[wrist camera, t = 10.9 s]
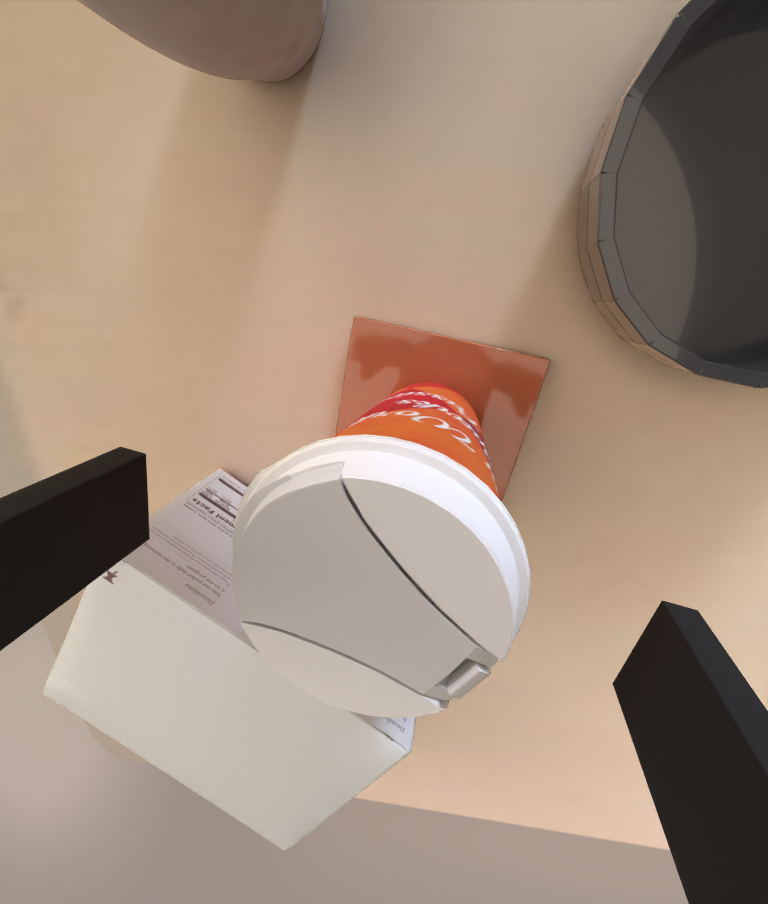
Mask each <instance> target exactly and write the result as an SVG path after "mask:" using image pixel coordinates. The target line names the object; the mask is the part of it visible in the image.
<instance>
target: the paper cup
mask: <svg viewBox="0 0 768 904" xmlns="http://www.w3.org/2000/svg"><path fill="white" fill-rule="evenodd" d="M234 526H235V529H234V533H233V562H232V586H233V592H234V598H235V602H236V607H237V611H238V615H239V619H240V621H241V625H242V627H243V629H244V631H245V632H246V634H247V636H248V637H249V639H250V640H251V642H252V644H253V645H254V646H255V648H256V649H257V650H258V651H259V653H260V654H261V655H262V656H263V657H264V659H265V660H266V661H267V662H268V663H269V664H270V665H271V666H272V667H273V668H274V669H275V670H276V671H278V672H279V673H280V674H281V675H282V676H283V677H285V678H286V679H287V680H289V681H290V682H291V683H293V684H294V685H295V686H297V687H298V688H300V689H302V690H303V691H305V692H307V693H308V694H310V695H312V696H313V697H316V698H318V699H320V700H322V701H324V702H326V703H328V704H330V705H333V706H336V707H339V708H342V709H345V710H348V711H351V712H355V713H360V714H364V715H369V716H377V717H386V718H410V717H417V716H425V715H430V714H433V713H437V712H441V711H444V709H446V708H447V706H448V703H449V700H450V699H451V698H453V697H454V698H458V699H459V698H462V697H463V696H464V695H465V694H466V693H468V692H469V691H470V690H471V689H472V688H474V687H475V686H476V685H477V684H479V683H480V682H481V681H482V680H483V679H485V678H486V677H487V676H488V675H490V674H491V672H490V670H489V669H490V668H492V667H493V666H494V665H495V664H496V662H497V661H498V659H499V660H501V661H502V662H503V660H505V659H506V656H507V654H508V651H509V649H510V647H511V644H512V642H513V639H514V638H515V636H516V635H517V633H518V632H519V630H520V627H521V625H522V622H523V620H524V618H525V615H526V613H527V608H528V603H529V598H530V593H531V584H530V567H529V561H528V556H527V551H526V547H525V545H524V542H523V540H522V537H521V535H520V532H519V530H518V527H517V525H516V523H515V522H514V520H513V519H512V517H511V515H510V514H509V512H508V511H507V509H506V507H505V506H504V504H503V503H502V502H501V501H500V500H499V496H498V492H497V488H496V484H495V480H494V476H493V472H492V468H491V464H490V460H489V456H488V452H487V449H486V445H485V441H484V437H483V434H482V430H481V427H480V424H479V421H478V418H477V416H476V414H475V412H474V410H473V408H472V406H471V405H470V404H469V402H468V401H467V400H466V399H465V398H464V397H463V396H462V395H461V394H459V393H458V392H457V391H455V390H453V389H452V388H450V387H447V386H445V385H441V384H437V383H429V382H425V383H416V384H412V385H409V386H406V387H404V388H402V389H400V390H398V391H396V392H395V393H393V394H392V395H390V396H389V397H387V398H386V399H384V400H383V401H381V402H380V403H379V404H377V405H376V406H374V407H373V408H372V409H370V410H369V411H367V412H366V413H365V414H363V415H362V416H361V417H359V418H358V419H356V420H355V421H354V422H352V423H351V424H350V425H348V426H347V427H346V428H344V429H343V430H342V431H340V432H339V433H337V434H336V435H335V436H333V437H332V438H329V439H324V440H320V441H317V442H314V443H312V444H309V445H307V446H304V447H302V448H299V449H297V450H295V451H294V452H292V453H291V454H289V455H287V456H286V457H284V458H283V459H281V460H279V461H278V462H276V463H274V464H272V465H270V466H269V467H267V468H265V469H263V470H261V471H260V472H258V473H257V475H256V476H255V478H254V479H253V480H252V482H251V483H250V485H249V486H248V487H247V489H246V491H245V493H244V495H243V498H242V500H241V502H240V504H239V507H238V511H237V515H236V519H235V523H234Z"/></svg>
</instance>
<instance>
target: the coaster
mask: <svg viewBox="0 0 768 904" xmlns="http://www.w3.org/2000/svg"><path fill="white" fill-rule="evenodd" d="M549 364H550V360H549V359H547V358H543V357H538V356H534V355H529V354H525V353H520V352H516V351H511V350H507V349H502V348H497V347H493V346H488V345H484V344H479V343H475V342H470V341H466V340H461V339H457V338H452V337H448V336H443V335H439V334H434V333H430V332H425V331H421V330H416V329H412V328H407V327H403V326H398V325H394V324H389V323H385V322H380V321H376V320H371V319H367V318H362V317H354V320H353V326H352V333H351V339H350V346H349V352H348V358H347V365H346V371H345V377H344V384H343V390H342V397H341V403H340V409H339V416H338V422H337V428H336V434H337V433H339V432H340V431H342V430H343V429H344V428H346V427H347V426H348V425H350V424H351V423H352V422H354V421H355V420H356V419H358V418H359V417H361V416H362V415H363V414H365V413H366V412H367V411H369V410H370V409H372V408H373V407H374V406H376V405H377V404H379V403H380V402H381V401H383V400H384V399H386V398H387V397H389V396H390V395H392V394H393V393H395V392H396V391H398V390H400V389H402V388H404V387H406V386H409V385H412V384H416V383H425V382H429V383H437V384H441V385H445V386H447V387H450V388H452V389H453V390H455V391H457V392H458V393H459V394H461V395H462V396H463V397H464V398H465V399H466V400H467V401H468V402H469V404H470V405H471V406H472V408H473V410H474V412H475V414H476V416H477V418H478V421H479V424H480V427H481V430H482V434H483V437H484V441H485V445H486V449H487V452H488V456H489V460H490V464H491V468H492V472H493V476H494V480H495V484H496V488H497V492H498V496H499V500H500V501H501V502H502V500H503V497H504V494H505V491H506V488H507V485H508V482H509V479H510V477H511V474H512V471H513V468H514V465H515V462H516V459H517V456H518V453H519V450H520V448H521V445H522V442H523V439H524V436H525V433H526V430H527V427H528V424H529V422H530V419H531V416H532V413H533V410H534V407H535V404H536V401H537V398H538V395H539V393H540V390H541V387H542V384H543V381H544V378H545V375H546V372H547V369H548V367H549Z"/></svg>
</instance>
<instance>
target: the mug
mask: <svg viewBox="0 0 768 904" xmlns="http://www.w3.org/2000/svg"><path fill="white" fill-rule="evenodd" d="M78 1H79V2H81V3H82V4H84V5H85V6H86V7H88V8H89V9H91V10H92V11H93V12H95V13H96V14H98V15H99V16H101V17H102V18H104V19H105V20H107V21H108V22H110V23H111V24H113V25H114V26H116V27H117V28H119V29H120V30H122V31H123V32H125V33H126V34H128V35H129V36H131V37H132V38H134V39H136V40H138V41H139V42H141V43H143V44H144V45H146V46H148V47H149V48H151V49H153V50H155V51H157V52H159V53H161V54H163V55H164V56H166V57H168V58H170V59H172V60H174V61H176V62H179V63H181V64H183V65H185V66H188V67H190V68H193V69H196V70H198V71H201V72H204V73H207V74H210V75H214V76H218V77H222V78H228V79H236V80H257V81H261V82H278V81H282V80H285V79H287V78H289V77H291V76H293V75H294V74H296V73H297V72H298V71H299V70H300V69H301V68H302V67H303V66H304V65H305V64H306V63H307V62H308V60H309V59H310V58H311V56H312V55H313V53H314V51H315V49H316V47H317V45H318V43H319V40H320V38H321V35H322V31H323V27H324V23H325V16H326V0H78Z"/></svg>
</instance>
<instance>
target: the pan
mask: <svg viewBox="0 0 768 904" xmlns="http://www.w3.org/2000/svg"><path fill="white" fill-rule="evenodd" d="M580 193H581V194H580V202H579V209H578V220H577V241H578V251H579V253H578V254H579V259H580V264H581V268H582V272H583V275H584V279H585V282H586V285H587V287H588V290H589V292H590V294H591V297H592V299H593V302H594V303H595V304H596V306H597V307H598V309H599V311H600V312H601V314H602V316H603V317H604V318H605V319H606V321H607V322H608V323H609V324H610V325H611V326H612V328H613V329H614V330H615V331H616V332H617V333H618V334H619V336H620V337H621V338H623V340H625V341H626V342H628V343H630V344H631V345H633V346H634V347H636V348H637V349H639V350H641V351H642V352H644V353H645V354H647V355H649V356H651V357H653V358H654V359H656V360H658V361H659V362H661V363H663V364H665V365H668V366H671V367H674V368H677V369H681V370H683V371H686V372H689V373H692V374H695V375H698V376H703V377H708V378H712V379H717V380H721V381H726V382H731V383H735V384H740V385H744V386H749V387H754V388H768V0H690V1H689V2H688V3H687V4H686V5H685V6H684V7H683V8H682V9H681V10H680V11H679V12H678V14H677V15H676V17H674V19H673V20H672V22H671V23H670V25H669V26H668V27H667V29H666V30H665V32H664V33H663V35H662V36H661V37H660V39H659V40H658V42H657V43H656V45H655V46H654V47H653V49H652V50H651V52H650V53H649V55H648V56H647V57H646V59H645V60H644V62H643V63H642V65H641V66H640V67H639V69H638V71H637V72H636V74H635V75H634V77H633V79H632V80H631V82H630V83H629V85H628V87H627V88H626V90H625V91H624V93H623V95H622V96H621V98H620V99H619V101H618V103H617V104H616V106H615V107H614V109H613V111H612V112H611V114H610V115H609V117H608V119H607V120H606V122H605V123H604V125H603V127H602V128H601V131H600V133H599V136H598V139H597V142H596V145H595V147H594V150H593V153H592V155H591V158H590V161H589V163H588V166H587V170H586V174H585V177H584V181H583V185H582V188H581V191H580Z"/></svg>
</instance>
